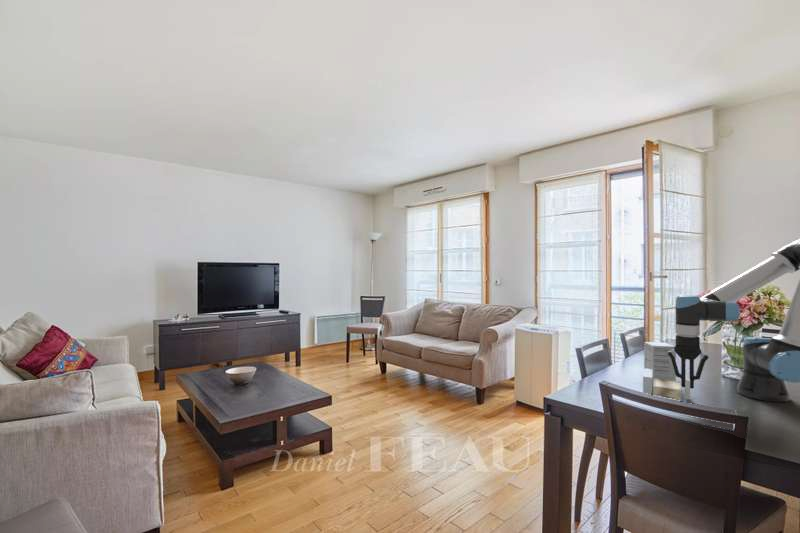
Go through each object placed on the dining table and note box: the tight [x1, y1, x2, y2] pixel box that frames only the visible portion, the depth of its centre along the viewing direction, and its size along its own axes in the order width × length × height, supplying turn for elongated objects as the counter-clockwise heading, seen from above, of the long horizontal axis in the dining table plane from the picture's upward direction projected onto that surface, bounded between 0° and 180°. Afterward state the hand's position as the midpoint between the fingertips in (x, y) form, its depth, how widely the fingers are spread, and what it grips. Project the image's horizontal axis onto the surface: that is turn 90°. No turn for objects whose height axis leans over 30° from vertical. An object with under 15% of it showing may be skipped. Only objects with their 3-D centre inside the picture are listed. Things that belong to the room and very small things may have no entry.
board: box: [642, 367, 653, 395], centre depth 158 cm, size 3×14×8 cm, turn 146°
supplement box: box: [643, 341, 677, 385], centre depth 172 cm, size 10×9×17 cm
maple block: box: [652, 378, 682, 402], centre depth 154 cm, size 9×12×5 cm
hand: (687, 395), depth 150 cm, fingers closed
